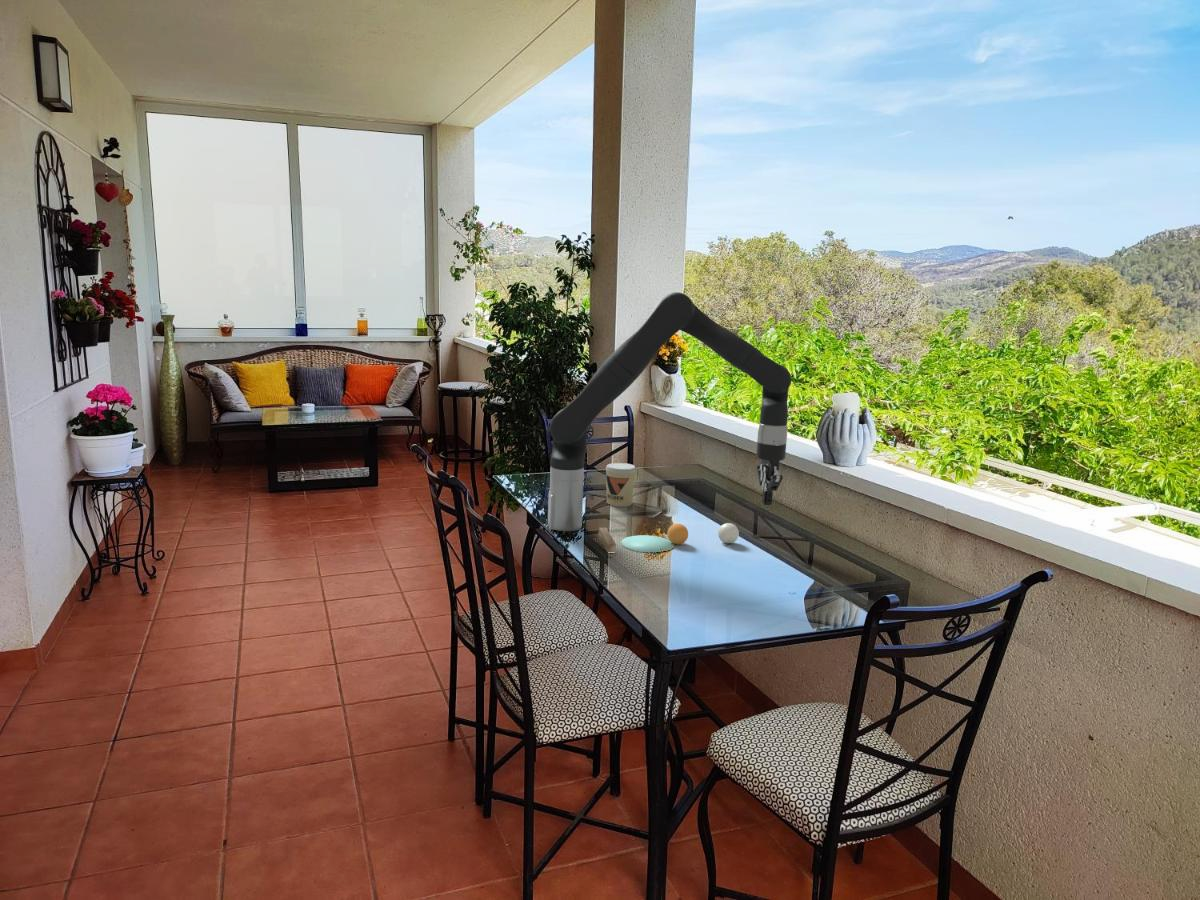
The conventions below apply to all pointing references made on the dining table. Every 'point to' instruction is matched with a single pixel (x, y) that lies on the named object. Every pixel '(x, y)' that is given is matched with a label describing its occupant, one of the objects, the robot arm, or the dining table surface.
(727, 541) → the cue ball
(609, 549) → the brown wooden bar
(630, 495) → the coffee cup
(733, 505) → the dining table surface
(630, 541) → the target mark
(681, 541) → the object ball
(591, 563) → the dining table surface
